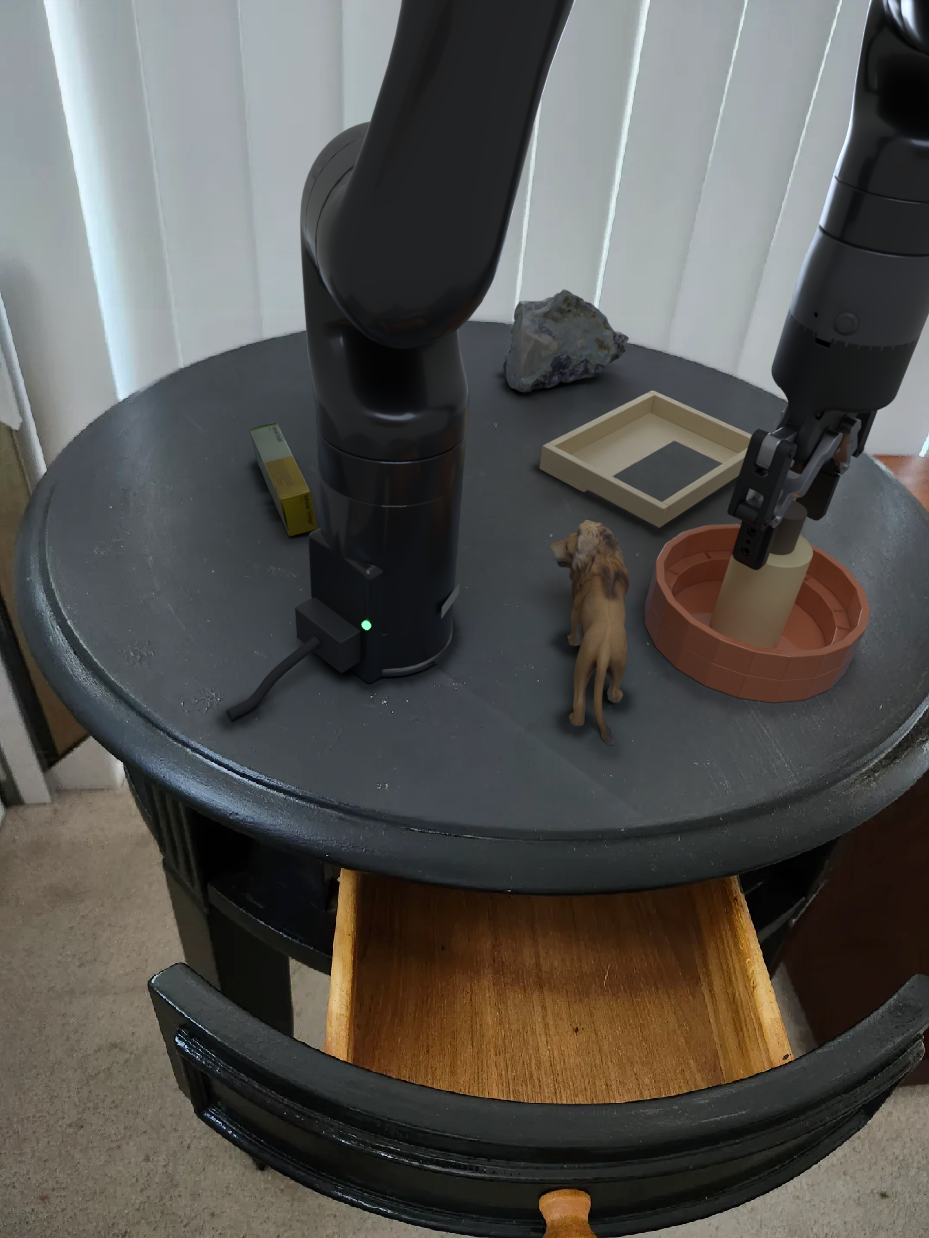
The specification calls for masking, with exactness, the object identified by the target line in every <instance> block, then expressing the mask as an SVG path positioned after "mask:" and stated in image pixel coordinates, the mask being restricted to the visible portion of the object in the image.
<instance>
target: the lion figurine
mask: <svg viewBox="0 0 929 1238" xmlns="http://www.w3.org/2000/svg"><path fill="white" fill-rule="evenodd" d="M614 535H615V534H614V533H613V531H612V530H611V529H609V528H608V527H606V526H604V524H603V522H598V521H593V520H588V519H585V520H584V521H583V522H582V523H580V524H579V525H578V528H577V532H573V533H570V534H569V535H568V537H567V538H565V539H563V540H560V541H555V542H553V543H552V544H551V545H550V550H551V553H552V558H553V560H555V561H556V565H557V566H558V568H568V569H569V573H568V578H569V579H570V580H571V587H570V588H571V594H572V595H571V596H572V600H573V604H572V609H571V614H570V634H568V635H567V636H566V637H567V639H568V644H569V645H570V646H573V647H579V650H578V652H577V657H576V660H575V663H574V671H573V672H574V673H573V703H572V708H573V711H572V712H571V713H570V714H569V715H568V719H569V721H570V723H571V725H573V726H576V727H582V726H584V724H585V713H586V709H587V708H586V707H587V701H586V689H587V686H588V683H589V681H590V679H591V677H592V675H593V673H594V672H595V678H594V687H593V688H594V689H593V711H594V716H595V719H596V722H597V725H598V728H599V730H600V737H601V739H602V740H603V741H604V743H605V744H606V745H608V746H613V745H614V744H615V739H614V736H613V733H612V730H611V728H610V726H609V725H608V724H607V722H606V719H605V717H604V713H603V692H604V684H605V680H606V676H607V677H608V681H609V686H608V689H607V693H606V694H607V700H608V701H609V702H611V703H613V704H617V703H620V702H621V700H622V698H623V697H624V693H623V692H622V690H621V689H620V686H621V683H622V679H623V678H624V674H625V671H626V667H627V657H628V649H629V647H628V646H629V645H628V638H627V631H626V627H625V625H626V617H627V616H626V615H627V613H626V607H625V606H626V605H625V600H626V595H627V594H628V591H629V587H630V580H629V576H630V573H629V569H628V568H627V567H626V566H625V558H624V556H623V551H622V548H621V547H620V546H619V545H618V542H619V541H618V539H617V538H616V537H615V536H614ZM606 674H607V675H606Z"/></svg>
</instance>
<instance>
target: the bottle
mask: <svg viewBox="0 0 929 1238" xmlns="http://www.w3.org/2000/svg"><path fill="white" fill-rule="evenodd" d="M806 516H807V510H806V508H805V507H804V506H803V505H801V504H800V503H798V502H796V501H795V500H794V499H793V500H792V502H791V504H790V505H789V507H788V509H787V510H786V512H785V514H784V516H783V517H782V520H781V522H780V524H779V527H778V530H777V533H776V536H775V539H774V542H773V545H772V548H771V551H770V554H769V557H768V560H767V562H766V564H765V565H764V566H763V567H762V568H760V569H759V570H753V569H751V568H749V567H747V566H745V565H744V564H742V563H740V562H738V561H736V560H735V559H734V558H733V555H732V556H731V559H730V562H729V565H728V568H727V571H726V574H725V578H724V581H723V584H722V587H721V590H720V593H719V596H718V599H717V603H716V606H715V609H714V612H713V615H712V618H711V627H712V629H713V630H715V631H716V632H718V633H720V634H722V635H724V636H727V637H729V638H732V639H735V640H738V641H741V642H744V643H747V644H750V645H753V646H756V647H763V648H770V649H773V648H774V647H775V646H776V645H777V644H778V643H779V641H780V638H781V636H782V633H783V630H784V628H785V625H786V623H787V620H788V618H789V615H790V613H791V610H792V608H793V605H794V602H795V600H796V597H797V595H798V592H799V590H800V587H801V585H802V582H803V579H804V577H805V574H806V572H807V569H808V567H809V564H810V562H811V559H812V556H813V550H812V547H811V545H810V544H811V543H810V542H809V541H808V539H806V538H805V537H804V536H802V535H801V532H802V529H803V527H804V525H805V522H806V519H807V517H806ZM809 543H810V544H809Z"/></svg>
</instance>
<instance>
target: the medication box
mask: <svg viewBox="0 0 929 1238" xmlns="http://www.w3.org/2000/svg"><path fill="white" fill-rule="evenodd" d="M249 433H250V434H249V435H250V437H251V443H252V447H253V450H254V455H255V458H256V462H257V465H258V467H259V469H260V472H261V474H262V477H263V479H264V482H265V484H266V486H267V489H268V492H269V494H270V496H271V498H272V500H273V503H274V506H275V508H276V510H277V512H278V514H279V517H280V520H281V521H282V524H283V527H284V529H285V530H286V533H287V535H288V536H289V537H293V536H296V535H297V536H298V535H300V534H305V533H308V532H312V531H315V530H317V529H318V523H317V519H316V514H315V508H314V507H315V506H314V502H313V497H312V492H311V490H310V488H309V486H308V483H307V482H306V480H305V477H304V475H303V473H302V472H301V469H300V467H299V464H298V463H297V461H296V459H295V457H294V455H293V453H292V450H291V449H290V446H289V445H288V443H287V441H286V439H285V437H284V435H283V432H282V430H281V428H280V426H279V425H278V423H277V422H272V423H266V424H265V423H264V424H262V425H257V426H255V427H252V428H249Z"/></svg>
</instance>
